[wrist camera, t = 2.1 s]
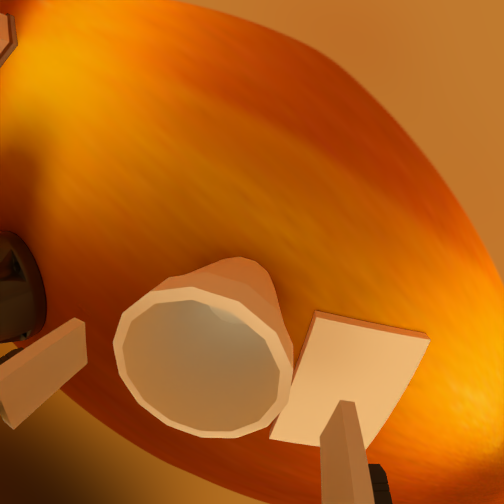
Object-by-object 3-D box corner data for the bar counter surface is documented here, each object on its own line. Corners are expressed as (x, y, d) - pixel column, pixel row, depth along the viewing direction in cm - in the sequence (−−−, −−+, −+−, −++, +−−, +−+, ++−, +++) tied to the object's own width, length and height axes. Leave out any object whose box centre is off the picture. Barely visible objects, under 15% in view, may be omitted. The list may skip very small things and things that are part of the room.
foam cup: (306, 257, 25) (322, 325, 12) (274, 348, 27) (261, 453, 14) (199, 226, 25) (119, 261, 12) (180, 319, 27) (112, 400, 15)
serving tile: (270, 429, 29) (269, 438, 28) (315, 310, 25) (316, 316, 24) (363, 441, 28) (365, 450, 27) (425, 333, 24) (430, 339, 23)
